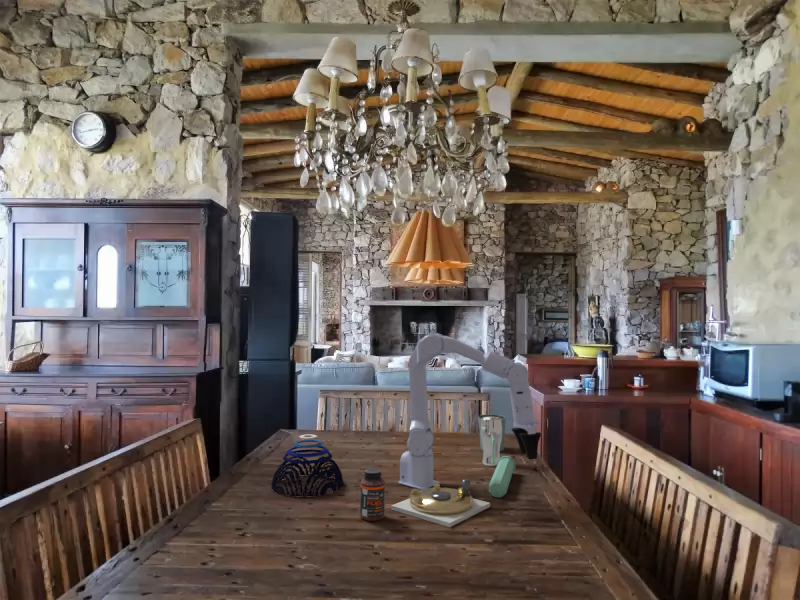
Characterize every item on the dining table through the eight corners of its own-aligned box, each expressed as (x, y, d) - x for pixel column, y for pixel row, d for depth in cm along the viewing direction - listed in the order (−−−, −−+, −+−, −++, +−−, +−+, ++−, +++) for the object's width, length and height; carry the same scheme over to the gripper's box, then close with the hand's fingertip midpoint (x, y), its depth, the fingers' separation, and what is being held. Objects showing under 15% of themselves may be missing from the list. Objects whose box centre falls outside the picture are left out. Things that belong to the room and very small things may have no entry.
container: (502, 476, 146) (511, 452, 170) (482, 483, 147) (494, 458, 171) (511, 498, 145) (519, 471, 169) (491, 504, 146) (501, 476, 170)
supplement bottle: (366, 523, 128) (366, 475, 129) (356, 515, 133) (356, 469, 134) (388, 519, 131) (388, 472, 131) (378, 511, 136) (378, 465, 137)
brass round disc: (396, 504, 138) (396, 481, 138) (434, 489, 150) (434, 468, 150) (448, 519, 127) (448, 494, 127) (484, 502, 140) (484, 479, 140)
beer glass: (478, 465, 179) (478, 419, 179) (483, 459, 185) (483, 415, 186) (499, 467, 176) (499, 420, 177) (504, 462, 183) (503, 417, 183)
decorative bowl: (357, 485, 157) (357, 435, 158) (301, 503, 143) (301, 447, 143) (314, 472, 171) (314, 426, 171) (258, 486, 156) (259, 436, 157)
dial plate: (391, 509, 138) (391, 505, 138) (433, 492, 151) (433, 488, 151) (449, 527, 126) (449, 522, 126) (490, 506, 140) (490, 502, 140)
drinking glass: (510, 448, 202) (509, 415, 202) (499, 454, 193) (499, 420, 193) (484, 444, 207) (484, 413, 207) (473, 450, 198) (473, 417, 199)
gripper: (543, 408, 144) (551, 459, 144) (529, 401, 159) (536, 448, 158) (517, 411, 144) (524, 463, 143) (505, 404, 159) (512, 451, 158)
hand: (529, 455), depth 151 cm, fingers open, 7 cm apart
